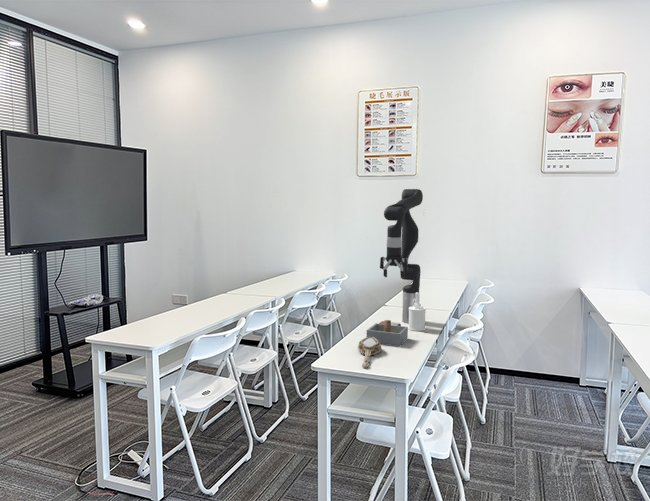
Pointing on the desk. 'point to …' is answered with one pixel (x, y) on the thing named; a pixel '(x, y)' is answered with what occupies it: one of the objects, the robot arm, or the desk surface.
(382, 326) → the grey open box
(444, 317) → the desk surface
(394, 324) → the calculator
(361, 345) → the hand mirror
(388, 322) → the peg
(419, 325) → the white cylindrical bottle
